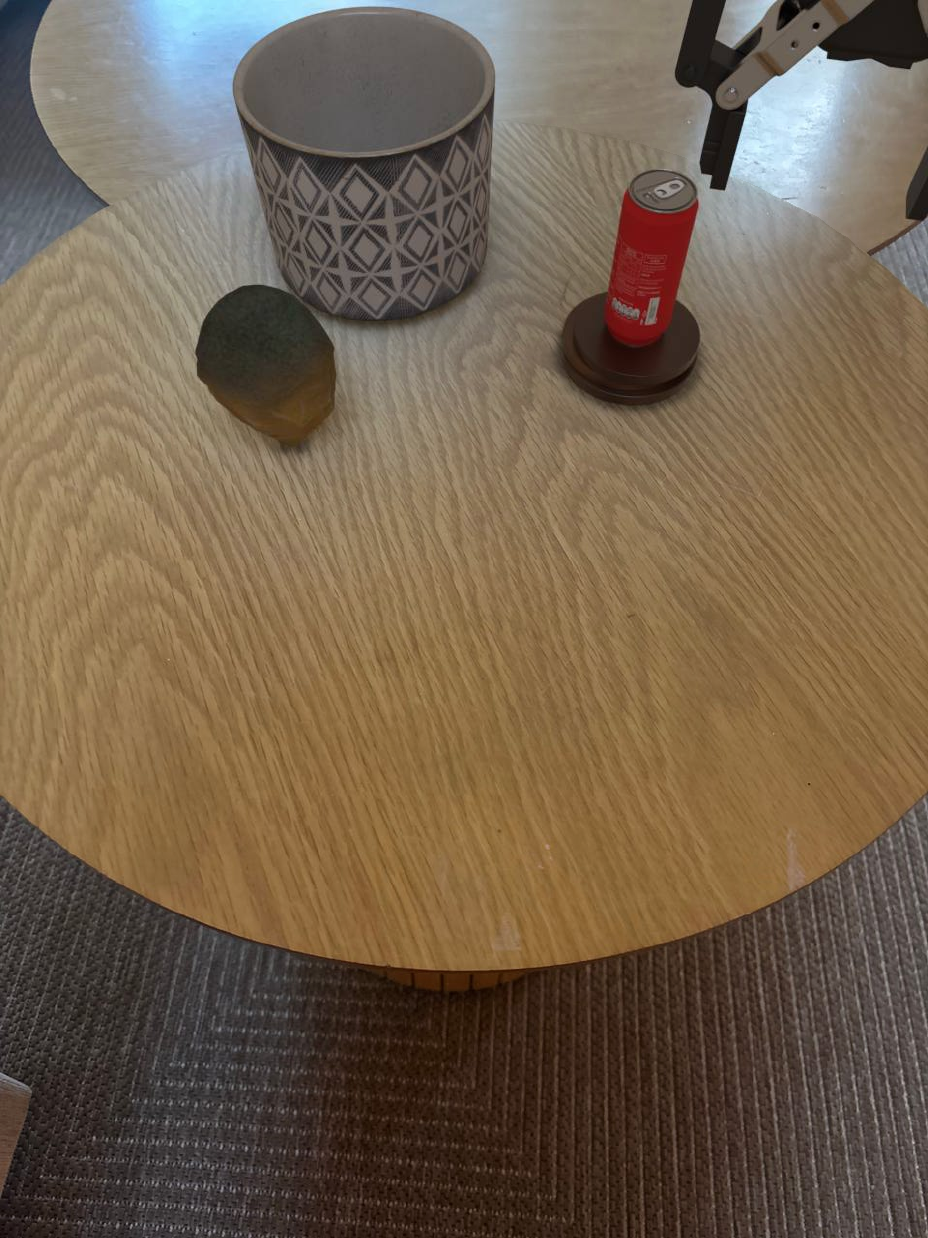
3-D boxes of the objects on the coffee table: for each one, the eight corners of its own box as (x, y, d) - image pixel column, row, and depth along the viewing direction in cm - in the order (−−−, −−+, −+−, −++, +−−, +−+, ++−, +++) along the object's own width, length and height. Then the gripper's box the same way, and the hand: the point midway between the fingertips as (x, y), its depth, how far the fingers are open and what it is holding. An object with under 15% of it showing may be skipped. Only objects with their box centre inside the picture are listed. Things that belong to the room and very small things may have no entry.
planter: (489, 342, 74) (492, 157, 60) (261, 338, 75) (210, 153, 60) (493, 196, 84) (497, 6, 69) (291, 193, 84) (253, 4, 70)
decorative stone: (350, 412, 70) (322, 252, 57) (351, 473, 68) (322, 318, 54) (228, 421, 70) (172, 261, 57) (224, 482, 67) (164, 328, 54)
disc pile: (702, 321, 75) (710, 293, 73) (685, 417, 70) (694, 389, 67) (574, 300, 77) (577, 271, 74) (548, 391, 71) (551, 364, 69)
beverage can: (589, 320, 71) (609, 183, 61) (639, 295, 73) (667, 157, 62) (630, 359, 69) (658, 223, 59) (681, 332, 70) (717, 195, 60)
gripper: (742, -295, 24) (643, 222, 39) (1304, -250, 23) (984, 276, 37) (766, -379, 28) (667, 123, 42) (1253, -346, 26) (979, 167, 40)
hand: (815, 194), depth 39 cm, fingers open, 8 cm apart
